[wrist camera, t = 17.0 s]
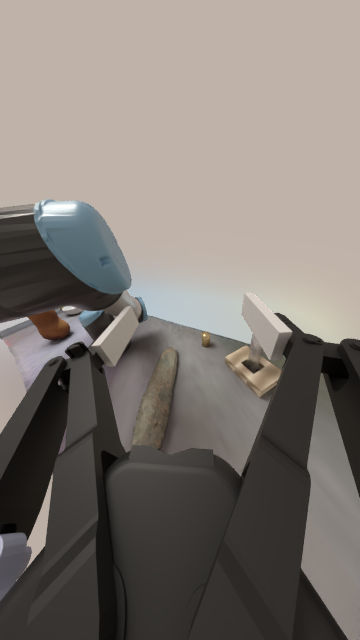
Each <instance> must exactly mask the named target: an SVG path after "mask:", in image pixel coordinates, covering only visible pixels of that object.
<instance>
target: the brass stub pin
mask: <svg viewBox="0 0 360 640" xmlns="http://www.w3.org/2000/svg"><path fill="white" fill-rule="evenodd" d="M201 336H202V345H203V346H204V347H209V346H210V333H209V332H206V331H205V332H202V333H201Z"/></svg>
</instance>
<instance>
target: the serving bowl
mask: <svg viewBox="0 0 360 640" xmlns="http://www.w3.org/2000/svg"><path fill="white" fill-rule="evenodd" d="M62 311H63V312H64V313H66V314H78V313H81V312H83V311H84V310H82V309H78V308H75V307H72V306H66V307H64V308H63V309H62Z"/></svg>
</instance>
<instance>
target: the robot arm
mask: <svg viewBox="0 0 360 640" xmlns="http://www.w3.org/2000/svg"><path fill="white" fill-rule="evenodd" d="M130 286H131V275H130V272H129V268H128V266H127V263H126V260H125V258H124V256H123V253H122V251H121V249H120V247H119V246H118V244H117V241H116V239H115V237H114V235H113V233H112V231H111V230H110V228H109V226H108V225H107V223H106V222H105V220H104V219H103V217H102V216H101V215H100V214H99V213H98V211H97V210H95V209H94V208H93V207H92V206H90V205H89V204H86V203H84V202H80V201H54V200H43V201H41V202H38V203H36V204H30V205H21V206H13V207H3V208H0V323H3V322H7V321H11V320H15V319H20V318H24V317H27V316H32V315H35V314H39V313H43V312H47V311H51V310H55V309H58V308H62V307H66V306H72V307H75V308H78V309H82V310H85V311H83V312H82V313H81V314H80V316H79V321H80V322H81V324H82V326H83V327H84V328H85V330H86V331H87V332H88V334H89V335H90V336H91V338H92V339H93V340H94V341H93V343H92V344H91V345H90V346H89V347H88V348H87V347H86V346H85V344H84V343H83V342H77V343H74V344H72V345H71V346H69V347H68V348H67V349H66V350H65V353H66V354H67V355H68V356H69V357H70V358H69V359H66V360H65V359H64V358H63V357H62V356H58V357H55V358H53V359H52V360H50V361H49V362H47V363H46V364H45V365H44V367H43V368H42V370H41V372H40V373H39V375H38V376H37V378H36V379H35V381H34V383H33V384H32V386H31V387H30V389H29V390H28V392H27V393H26V395H25V397H24V398H23V400H22V401H21V403H20V404H19V406H18V407H17V409H16V411H15V412H14V414H13V415H12V417H11V418H10V420H9V421H8V423H7V425H6V426H5V428H4V429H3V431H2V433H1V434H0V640H348V639H347V637H346V636H345V634H344V633H343V631H342V630H341V628H340V627H339V625H338V624H337V622H336V621H335V619H334V618H333V616H332V615H331V613H330V612H329V610H328V609H327V607H326V606H325V604H324V603H323V601H322V600H321V598H320V596H319V595H318V593H317V592H316V590H315V589H314V587H313V586H312V584H311V583H310V581H309V580H308V578H307V577H306V575H305V574H304V572H303V571H302V569H301V560H302V552H303V544H304V536H305V528H306V520H307V512H308V504H309V496H310V486H311V479H310V474H309V472H308V470H307V461H308V454H309V448H310V441H311V434H312V427H313V421H314V414H315V407H316V401H317V394H318V387H319V381H320V374H321V373H323V375H324V379H325V382H326V386H327V389H328V392H329V396H330V399H331V402H332V406H333V409H334V412H335V416H336V419H337V423H338V426H339V429H340V433H341V436H342V439H343V443H344V446H345V449H346V453H347V456H348V460H349V463H350V466H351V470H352V473H353V476H354V480H355V483H356V487H357V490H358V493H359V497H360V340H356V339H344V340H342V341H341V343H340V344H334V343H327V342H324V341H323V340H322V339H320V338H318V337H317V336H314V335H311V334H305V333H303V332H302V331H301V330H300V329H299V328H298V327H296V325H294V324H293V323H292V322H291V321H290V320H289V319H288V318H287V317H286V316H284V315H282V314H280V313H273V312H272V311H271V310H270V309H269V308H268V307H267V306H266V305H265V304H264V303H263V302H262V301H261V300H260V299H259V298H258V297H257V296H255V294H254V293H252V292H248V293H245V294H244V300H243V308H242V316H243V317H244V319H245V321H246V322H247V324H248V326H249V327H250V329H251V330H252V332H253V334H254V335H255V337H256V339H257V340H258V342H259V343H260V345H261V347H262V348H263V350H264V352H265V353H266V355H267V356H268V358H269V360H281V358H282V356H283V355H284V356H285V357H286V361H285V363H284V365H283V367H282V368H283V369H282V371H281V374H280V377H279V379H278V382H277V384H276V387H275V390H274V392H273V395H272V397H271V400H270V403H269V405H268V408H267V411H266V413H265V416H264V418H263V421H262V424H261V426H260V429H259V431H258V434H257V437H256V439H255V442H254V445H253V447H252V450H251V452H250V454H249V457H248V459H247V462H246V464H245V467H244V469H243V472H242V474H241V477H240V476H239V474H238V473H237V472H236V471H235V470H234V469H233V468H232V467H231V465H229V464H228V463H227V462H226V461H225V460H223V459H222V458H220V457H218V456H216V455H214V454H213V450H210V449H194V448H191V449H188V450H185V451H182V452H179V453H175V454H172V455H169V454H166V453H164V452H162V451H160V450H158V449H156V448H154V447H152V446H144V445H132V448H131V451H129V452H127V453H126V452H125V449H124V448H123V446H122V444H121V442H120V438H119V433H118V429H117V425H116V420H115V416H114V411H113V407H112V402H111V398H110V394H109V389H108V385H107V380H106V376H105V371H104V368H103V367H102V365H103V364H104V363H105V364H106V366H107V367H115V365H116V364H117V362H118V360H119V358H120V357H121V355H122V354H123V353H124V352H125V351H126V350H127V349H128V348H129V346H130V339H131V337H132V336H133V334H134V332H135V330H136V329H137V327H138V325H139V323H142V322H143V321H146V320H147V318H148V316H147V312H146V309H145V305H144V302H143V300H142V298H141V297H135V298H134V297H132V296H130V295H129V293H128V292H127V289H129V288H130ZM58 381H59V382H60V383H61V384H60V386H59V385H58ZM66 426H67V432H66V446H65V450H64V451H63V452H62V453H60V454H59V455H58V452H59V449H60V446H61V442H62V439H63V436H64V432H65V429H66ZM57 456H58V457H57ZM53 469H54V473H53V482H52V491H51V501H50V510H49V518H48V527H47V535H46V544H45V547H44V548H43V549H42V550H41V552H40V553H39V554H38V555H37V557H36V558H35V559H34V561H33V562H32V563H31V564H30V565H29V566H28V568H27V569H26V567H27V565H28V563H29V560H30V557H31V553H32V551H31V547H29V546H28V547H26V545H27V540H28V538H29V536H30V534H31V531H32V529H33V527H34V524H35V522H36V519H37V517H38V514H39V512H40V510H41V507H42V504H43V501H44V497H45V495H46V492H47V489H48V485H49V482H50V479H51V475H52V472H53ZM25 569H26V570H25ZM24 570H25V571H24ZM23 572H24V573H23ZM22 573H23V574H22ZM19 577H20V578H19ZM18 578H19V579H18ZM17 579H18V580H17ZM16 580H17V581H16Z"/></svg>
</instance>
